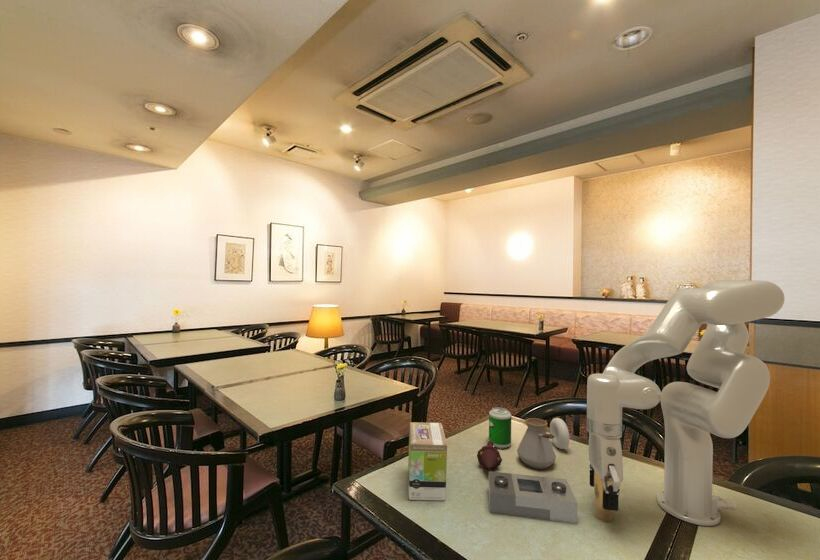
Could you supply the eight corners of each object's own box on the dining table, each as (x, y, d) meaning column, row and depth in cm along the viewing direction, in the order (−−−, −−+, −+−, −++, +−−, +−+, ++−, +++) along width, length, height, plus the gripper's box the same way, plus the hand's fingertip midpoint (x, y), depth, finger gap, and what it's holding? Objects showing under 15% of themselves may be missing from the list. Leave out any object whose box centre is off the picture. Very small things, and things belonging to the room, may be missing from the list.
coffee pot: (513, 453, 118) (513, 407, 118) (548, 454, 118) (549, 409, 118) (531, 490, 97) (532, 435, 97) (574, 492, 96) (575, 437, 96)
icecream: (505, 460, 100) (503, 442, 115) (479, 451, 102) (480, 433, 117) (498, 484, 100) (497, 463, 115) (473, 474, 102) (475, 454, 117)
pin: (608, 512, 88) (609, 463, 88) (615, 523, 84) (615, 472, 84) (591, 510, 89) (591, 462, 89) (596, 520, 85) (597, 470, 85)
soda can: (513, 443, 125) (514, 409, 125) (507, 452, 119) (507, 416, 119) (492, 438, 129) (493, 405, 129) (485, 446, 123) (486, 411, 123)
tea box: (447, 501, 92) (447, 444, 92) (408, 501, 92) (408, 443, 92) (441, 470, 107) (442, 421, 107) (408, 470, 107) (408, 420, 107)
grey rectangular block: (566, 498, 94) (566, 476, 94) (576, 523, 84) (577, 499, 84) (488, 489, 97) (488, 468, 97) (490, 512, 87) (490, 489, 87)
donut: (547, 441, 127) (548, 413, 127) (557, 441, 128) (557, 413, 128) (561, 454, 117) (561, 424, 117) (571, 454, 118) (571, 424, 118)
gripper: (636, 443, 77) (635, 523, 77) (607, 414, 95) (606, 479, 95) (599, 440, 79) (598, 518, 79) (577, 412, 96) (576, 476, 96)
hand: (603, 497), depth 87 cm, fingers open, 8 cm apart
